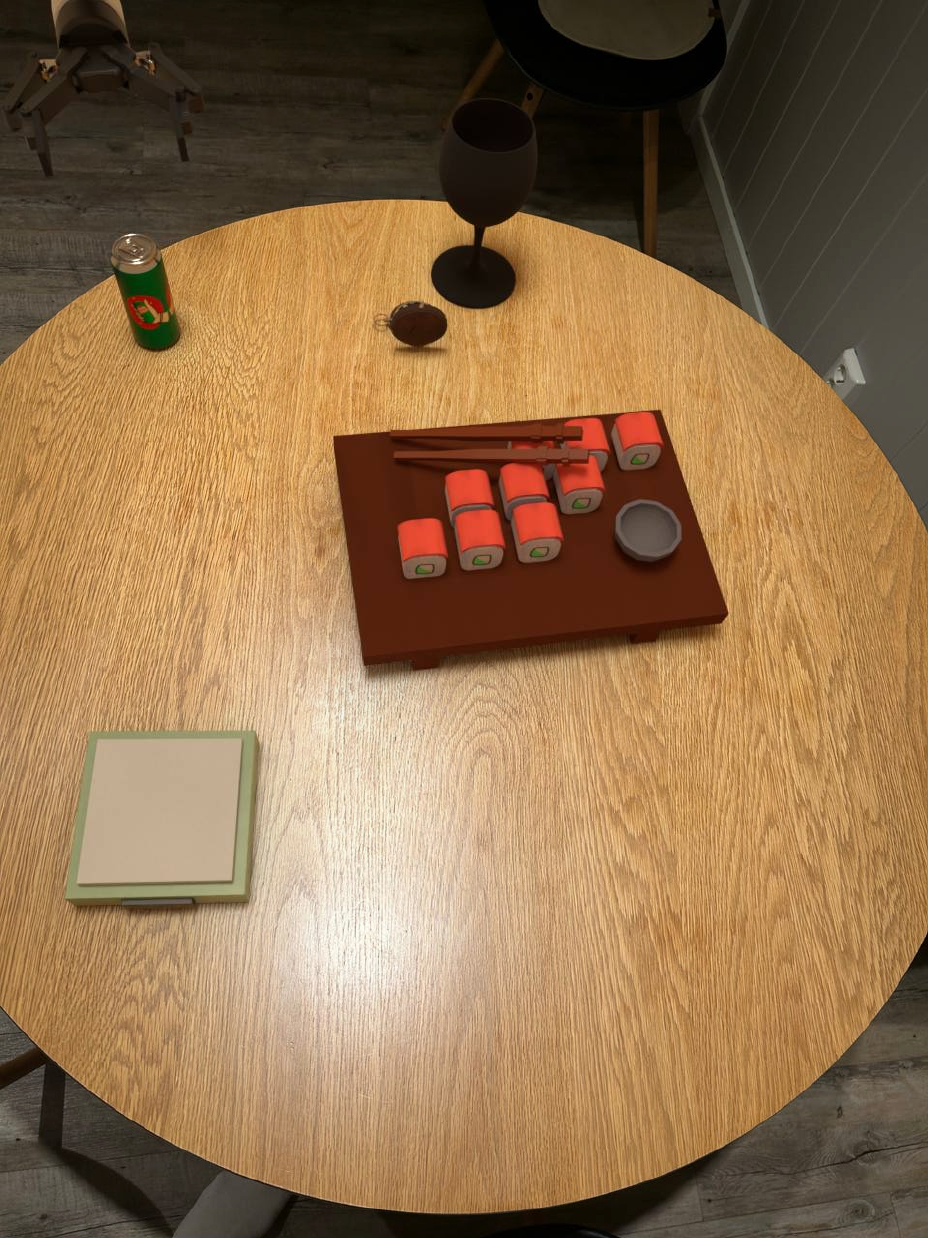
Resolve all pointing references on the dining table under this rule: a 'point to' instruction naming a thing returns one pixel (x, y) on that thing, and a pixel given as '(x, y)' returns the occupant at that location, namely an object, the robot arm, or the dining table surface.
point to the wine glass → (483, 195)
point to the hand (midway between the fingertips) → (115, 157)
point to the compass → (416, 322)
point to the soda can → (145, 290)
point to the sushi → (520, 536)
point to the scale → (164, 819)
